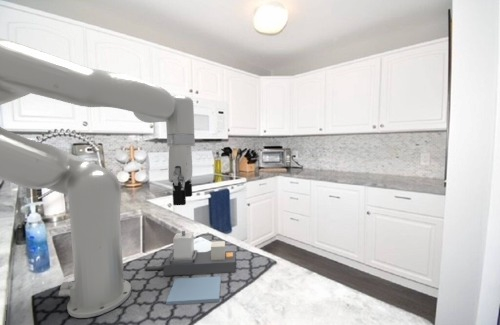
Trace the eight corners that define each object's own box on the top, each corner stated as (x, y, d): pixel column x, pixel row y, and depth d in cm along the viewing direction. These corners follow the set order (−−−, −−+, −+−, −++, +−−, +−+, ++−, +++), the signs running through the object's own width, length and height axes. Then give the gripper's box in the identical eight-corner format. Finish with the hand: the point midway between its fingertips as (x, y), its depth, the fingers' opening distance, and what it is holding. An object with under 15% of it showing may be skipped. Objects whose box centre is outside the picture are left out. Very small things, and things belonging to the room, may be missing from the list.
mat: (166, 305, 52) (166, 301, 52) (175, 281, 61) (175, 278, 61) (219, 301, 53) (219, 298, 53) (220, 279, 62) (220, 276, 62)
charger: (173, 262, 65) (173, 234, 64) (177, 255, 69) (176, 229, 68) (191, 261, 65) (191, 233, 65) (194, 254, 69) (193, 228, 69)
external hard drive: (201, 258, 74) (182, 247, 83) (221, 250, 80) (201, 240, 89) (201, 253, 74) (182, 242, 83) (221, 245, 80) (201, 236, 88)
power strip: (139, 277, 63) (138, 252, 62) (148, 263, 70) (147, 241, 69) (235, 272, 65) (235, 248, 64) (235, 259, 72) (234, 238, 71)
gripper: (175, 141, 73) (177, 194, 74) (157, 141, 56) (161, 209, 57) (198, 141, 73) (200, 193, 75) (188, 140, 56) (191, 208, 58)
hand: (183, 200), depth 66 cm, fingers open, 9 cm apart
